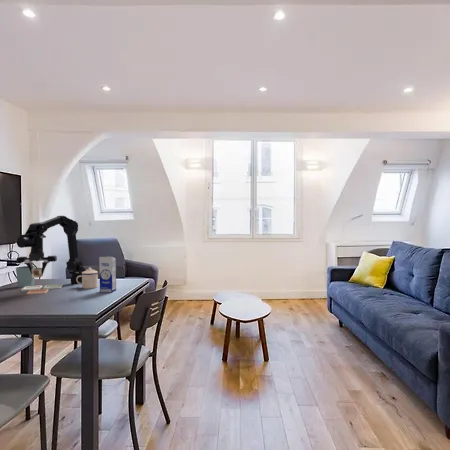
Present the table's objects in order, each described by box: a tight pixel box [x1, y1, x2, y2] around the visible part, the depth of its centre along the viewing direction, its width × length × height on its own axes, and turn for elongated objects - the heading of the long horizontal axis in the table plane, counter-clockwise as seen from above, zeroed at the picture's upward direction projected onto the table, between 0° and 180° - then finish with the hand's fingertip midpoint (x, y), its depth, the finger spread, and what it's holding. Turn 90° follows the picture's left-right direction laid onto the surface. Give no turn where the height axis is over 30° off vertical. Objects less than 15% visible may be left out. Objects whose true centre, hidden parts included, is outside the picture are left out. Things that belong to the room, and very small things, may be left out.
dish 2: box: [26, 288, 50, 296], centre depth 188 cm, size 9×9×1 cm
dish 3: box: [42, 283, 64, 290], centre depth 202 cm, size 9×9×1 cm
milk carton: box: [98, 255, 117, 294], centre depth 192 cm, size 7×7×20 cm
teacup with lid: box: [76, 267, 99, 290], centre depth 204 cm, size 12×9×12 cm
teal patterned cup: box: [15, 265, 36, 288], centre depth 208 cm, size 10×10×12 cm
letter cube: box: [32, 267, 44, 278], centre depth 187 cm, size 4×5×5 cm
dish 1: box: [21, 284, 43, 292], centre depth 198 cm, size 9×9×1 cm
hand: (37, 274), depth 187 cm, fingers closed on letter cube, 4 cm apart
